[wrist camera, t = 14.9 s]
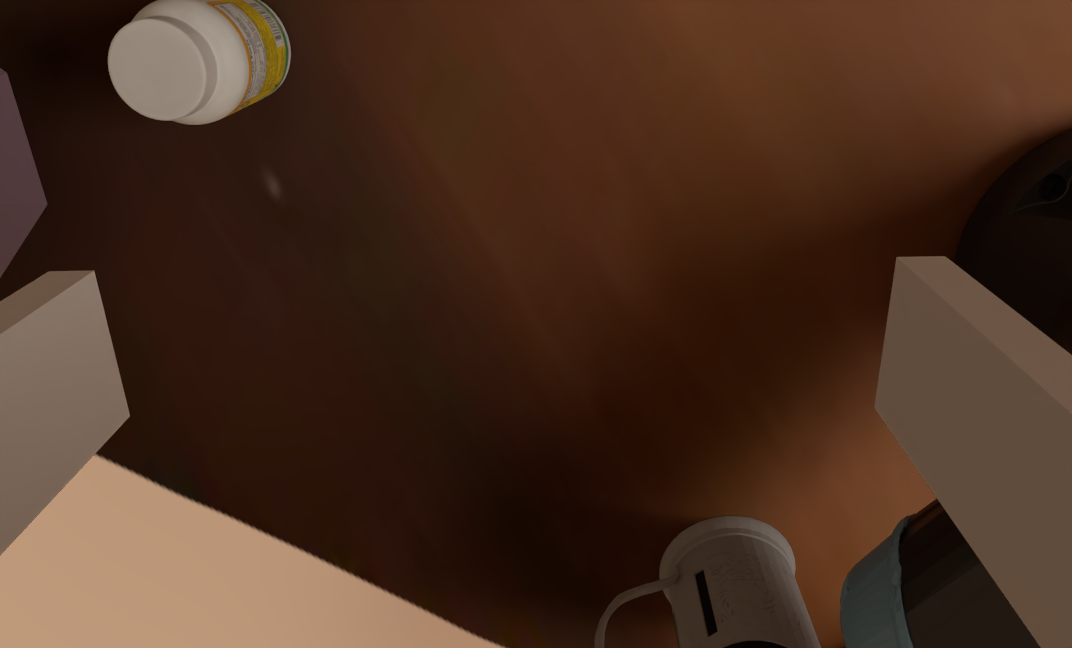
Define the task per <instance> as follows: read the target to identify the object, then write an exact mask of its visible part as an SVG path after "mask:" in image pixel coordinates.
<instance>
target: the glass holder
mask: <svg viewBox="0 0 1072 648" xmlns="http://www.w3.org/2000/svg"><path fill="white" fill-rule="evenodd" d="M794 576H795V558H794V555H793V552H792V549H791V547H790V545H789V543H788V542H787V540H786V539H785V538H784V537H783V536H782V534H781V533H780V532H779V531H777V530H776V529H774V528H773V527H772V526H770V525H768V524H766V523H764V522H762V521H760V520H756V519H753V518H750V517H743V516H720V517H713V518H710V519H707V520H703V521H700V522H698V523H696V524H694V525H692V526H690V527H688V528H687V529H685V530H684V531H682V532H681V533H680V534H679V535H678V536H677V537H676V538H675V539H673V540H672V542H671V543H670V544H669V546H668V547H667V548H666V550H665V553H664V555H663V557H662V560H661V563H660V570H659V578H660V580H658V581H654V582H651V583H647V584H643V585H641V586H638V587H635V588H632V589H629V590H627V591H625V592H623V593H620V594H619V595H617V596H616V597H615V598H614V600H613V601H612V602H611V603H610V604H609V606H608V607H607V609H606V611H605V612H604V614H603V616H602V617H601V619H600V621H599V624H598V628H597V631H596V635H595V648H604V636H605V629H606V626H607V622H608V619H609V618H610V616H611V615H612V613H613V612H614V611H615V610H616V609H617V608H618V607H619V606H620V605H621V604H623V603H625V602H627V601H629V600H632V599H634V598H637V597H639V596H642V595H646V594H650V593H654V592H657V591H660V590H663V592H664V594H665V596H666V598H667V599H668V600H669V602H670V603H671V606H672V612H673V618H674V623H675V629H676V635H677V641H678V647H679V648H821V646H820V643H819V641H818V638H817V635H816V633H815V630H814V628H813V625H812V622H811V620H810V617H809V614H808V612H807V609H806V606H805V604H804V601H803V598H802V596H801V593H800V590H799V588H798V585H797V583H796V580H795V577H794Z"/></svg>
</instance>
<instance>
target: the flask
mask: <svg viewBox="0 0 1072 648" xmlns="http://www.w3.org/2000/svg"><path fill="white" fill-rule="evenodd" d="M46 206H47V201H46V198H45V195H44V191H43V188H42V185H41V182H40V179H39V175H38V172H37V169H36V166H35V162H34V159H33V156H32V153H31V149H30V146H29V143H28V140H27V136H26V133H25V130H24V127H23V123H22V120H21V117H20V114H19V110H18V107H17V104H16V101H15V97H14V94H13V91H12V88H11V84H10V81H9V78H8V75H7V73H6V72H5V71H4V70H2V69H1V68H0V277H1V276H2V274H3V273H4V271H5V270H6V268H7V267H8V265H9V263H10V262H11V260H12V259H13V257H14V256H15V254H16V253H17V251H18V249H19V248H20V246H21V245H22V243H23V242H24V240H25V239H26V237H27V235H28V234H29V232H30V231H31V229H32V228H33V226H34V225H35V223H36V221H37V220H38V218H39V217H40V215H41V214H42V212H43V211H44V209H45V207H46Z"/></svg>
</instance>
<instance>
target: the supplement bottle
mask: <svg viewBox="0 0 1072 648" xmlns="http://www.w3.org/2000/svg"><path fill="white" fill-rule="evenodd" d="M290 59H291V49H290V43H289V39H288V35H287V33H286V30H285V28H284V26H283V24H282V22H281V21H280V19H279V18H278V16H277V15H276V14H275V13H274V12H273V11H272V9H271V8H269V7H268V6H267V5H266V4H265V3H263V2H262V1H260V0H157V1H155V2H152V3H151V4H149V5H147V6H146V7H144V8H143V9H142V10H141V11H139V12H138V13H137V14H136V16H135V17H134V18H133V20H132V21H131V22H130V23H128V24H127V25H125V26H124V27H123V28H121V29H120V30H119V31H118V32H117V33H116V35H115V37H114V38H113V40H112V42H111V45H110V48H109V52H108V70H109V74H110V78H111V80H112V83H113V85H114V88H115V89H116V91H117V93H118V94H119V95H120V97H121V98H122V99H123V100H124V102H126V103H127V104H128V105H129V106H130V107H131V108H132V109H133V110H135V111H137V112H138V113H140V114H142V115H144V116H146V117H149V118H152V119H156V120H164V121H169V120H172V121H175V122H178V123H182V124H189V125H200V124H207V123H211V122H214V121H217V120H220V119H222V118H224V117H226V116H228V115H231V114H233V113H235V112H237V111H239V110H241V109H243V108H245V107H247V106H249V105H251V104H253V103H255V102H257V101H259V100H261V99H263V98H265V97H266V96H268V95H270V94H271V93H273V92H274V91H275V90H276V89H277V88H278V87H280V85H281V84H282V83H283V81H284V79H285V78H286V75H287V73H288V70H289V66H290Z"/></svg>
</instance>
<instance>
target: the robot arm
mask: <svg viewBox="0 0 1072 648" xmlns="http://www.w3.org/2000/svg"><path fill="white" fill-rule="evenodd" d="M874 408H875V410H876V411H877V413H878V414H879V416H880V417H881V418H882V420H883V421H884V423H885V424H886V426H887V427H888V428H889V430H890V431H891V433H892V434H893V436H894V437H895V439H896V440H897V441H898V443H899V444H900V446H901V447H902V449H903V450H904V452H905V453H906V454H907V456H908V457H909V459H910V460H911V462H912V463H913V464H914V466H915V467H916V469H917V470H918V472H919V473H920V475H921V476H922V477H923V479H924V480H925V482H926V483H927V485H928V486H929V487H930V489H931V490H932V492H933V493H934V495H935V496H936V498H937V499H936V500H934V501H933V502H931V503H930V504H929V505H927V506H926V507H925V508H923V509H922V510H921V511H919V512H918V513H916V514H913V515H910V516H906V517H905V518H903V519H902V520H901V521H900V522H899V523H898V524H897V526H896V527H895V529H894V531H893V533H892V534H891V535H890V536H889V537H888V538H887V539H886V540H884V541H883V542H882V543H881V544H880V545H878V546H877V547H876V548H875V549H874V550H872V551H871V552H870V553H869V554H868V555H866V556H865V557H864V558H863V559H862V560H860V561H859V562H858V563H857V564H856V565H855V566H854V567H853V568H852V569H851V571H850V572H849V573H848V575H847V577H846V579H845V581H844V583H843V587H842V593H841V599H840V605H841V610H840V623H841V629H842V634H843V639H844V643H845V646H846V648H1072V130H1070V131H1067V132H1065V133H1063V134H1061V135H1059V136H1056V137H1054V138H1052V139H1051V140H1049V141H1047V142H1045V143H1043V144H1042V145H1040V146H1038V147H1037V148H1035V149H1034V150H1032V151H1031V152H1029V153H1028V154H1027V155H1025V156H1024V157H1023V158H1021V159H1020V160H1019V161H1018V162H1016V163H1015V164H1014V165H1013V166H1012V167H1010V168H1009V169H1008V170H1007V171H1006V172H1005V173H1004V174H1003V175H1002V176H1001V177H1000V178H999V179H998V180H997V181H996V182H995V184H994V185H993V186H992V187H991V188H990V190H989V191H988V192H987V193H986V195H985V196H984V197H983V199H982V200H981V201H980V203H979V205H978V206H977V208H976V209H975V211H974V212H973V214H972V216H971V218H970V220H969V222H968V224H967V226H966V228H965V230H964V233H963V235H962V238H961V241H960V244H959V247H958V251H957V255H956V260H955V264H954V263H953V262H952V261H951V260H949V259H948V258H947V257H945V256H922V257H896V264H895V271H894V277H893V284H892V291H891V298H890V304H889V311H888V318H887V324H886V331H885V338H884V345H883V351H882V358H881V365H880V372H879V378H878V385H877V392H876V398H875V405H874ZM129 417H130V414H129V410H128V406H127V402H126V398H125V394H124V390H123V386H122V382H121V378H120V374H119V369H118V365H117V361H116V357H115V353H114V349H113V345H112V341H111V337H110V333H109V329H108V325H107V321H106V317H105V313H104V309H103V305H102V301H101V297H100V293H99V289H98V284H97V280H96V276H95V272H94V271H49V272H47V273H45V274H44V275H42V276H41V277H39V278H37V279H36V280H34V281H33V282H31V283H29V284H28V285H26V286H24V287H23V288H21V289H20V290H18V291H16V292H15V293H13V294H12V295H10V296H8V297H7V298H5V299H3V300H2V301H0V555H1V554H2V553H3V552H4V551H5V550H6V549H7V547H9V545H10V544H11V543H12V542H13V541H14V540H15V539H16V538H17V537H18V536H19V534H21V533H22V532H23V530H24V529H25V528H26V527H27V526H28V525H29V524H30V523H31V522H32V521H33V520H34V518H36V516H37V515H38V514H39V513H40V512H41V511H42V510H43V509H44V508H45V507H46V506H47V505H48V504H49V503H50V501H51V500H52V499H53V498H54V497H55V496H56V495H57V494H58V493H59V492H60V491H61V490H62V489H63V487H64V486H65V485H66V484H67V483H68V482H69V481H70V480H71V479H72V478H73V477H74V476H75V475H76V474H77V472H78V471H79V470H80V469H81V468H82V467H83V466H84V465H85V464H86V463H87V462H88V461H89V459H91V457H92V456H93V455H94V454H95V453H96V452H97V451H98V450H99V449H100V448H101V447H102V446H103V445H104V443H105V442H106V441H107V440H108V439H109V438H110V437H111V436H112V435H113V434H114V433H115V432H116V431H117V430H118V428H119V427H120V426H121V425H122V424H123V423H124V422H125V421H126V420H127V419H128V418H129Z"/></svg>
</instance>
